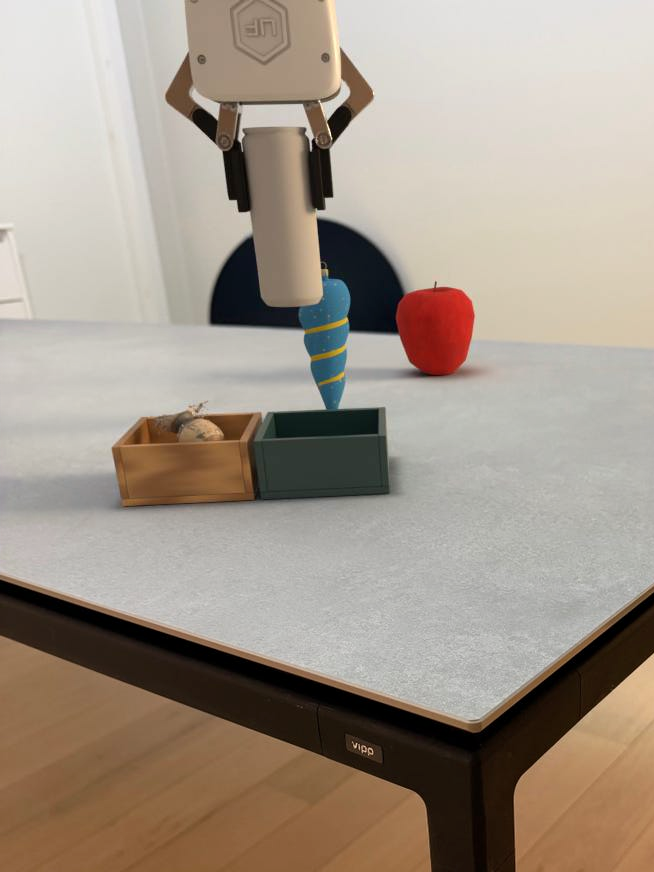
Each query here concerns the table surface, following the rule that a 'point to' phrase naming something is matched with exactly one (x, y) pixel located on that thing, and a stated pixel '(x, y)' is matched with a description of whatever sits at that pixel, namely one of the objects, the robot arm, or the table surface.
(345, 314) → the ornament
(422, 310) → the apple
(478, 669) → the table surface
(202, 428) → the vase
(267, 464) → the can bin
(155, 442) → the bin
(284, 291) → the beverage can
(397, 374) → the table surface
